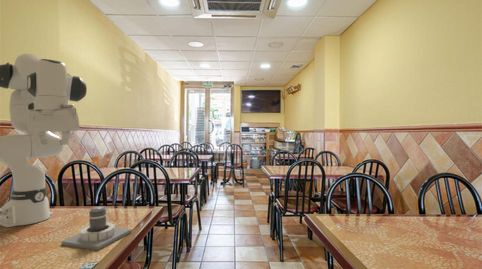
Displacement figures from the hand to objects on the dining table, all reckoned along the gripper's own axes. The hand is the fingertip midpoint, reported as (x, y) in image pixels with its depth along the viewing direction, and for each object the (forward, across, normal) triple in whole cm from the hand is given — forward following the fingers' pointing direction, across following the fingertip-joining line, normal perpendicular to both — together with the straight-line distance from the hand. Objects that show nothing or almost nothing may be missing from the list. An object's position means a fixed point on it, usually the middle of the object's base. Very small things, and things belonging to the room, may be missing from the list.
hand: (53, 144), depth 90 cm
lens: (+34, -11, -8) cm, 37 cm away
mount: (+35, -11, -8) cm, 38 cm away
